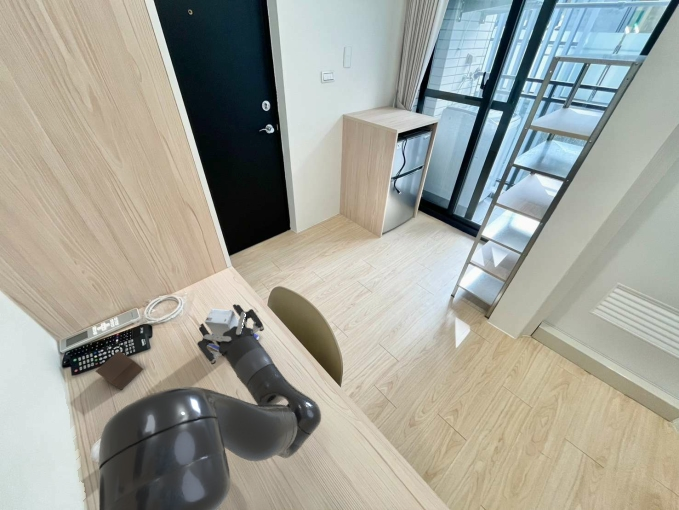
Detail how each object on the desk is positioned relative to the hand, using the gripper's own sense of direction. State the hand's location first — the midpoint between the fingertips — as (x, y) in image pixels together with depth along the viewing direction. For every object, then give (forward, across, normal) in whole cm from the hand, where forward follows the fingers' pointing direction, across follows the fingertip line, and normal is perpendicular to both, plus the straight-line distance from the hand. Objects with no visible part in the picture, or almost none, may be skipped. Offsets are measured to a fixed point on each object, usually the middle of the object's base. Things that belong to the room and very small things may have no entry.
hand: (218, 315), depth 68 cm
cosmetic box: (0, 0, +12) cm, 12 cm away
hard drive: (0, 0, +14) cm, 14 cm away
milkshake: (-9, +29, +14) cm, 33 cm away
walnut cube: (+10, +25, +13) cm, 30 cm away
